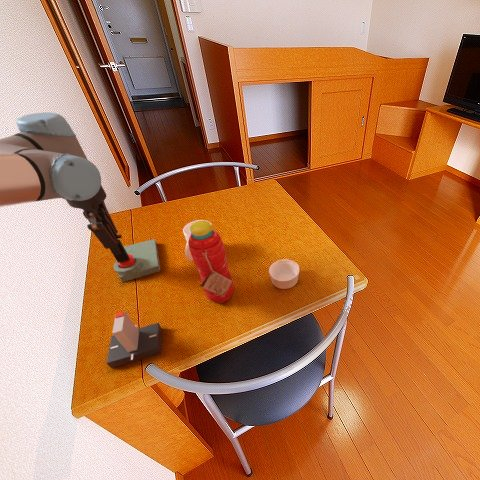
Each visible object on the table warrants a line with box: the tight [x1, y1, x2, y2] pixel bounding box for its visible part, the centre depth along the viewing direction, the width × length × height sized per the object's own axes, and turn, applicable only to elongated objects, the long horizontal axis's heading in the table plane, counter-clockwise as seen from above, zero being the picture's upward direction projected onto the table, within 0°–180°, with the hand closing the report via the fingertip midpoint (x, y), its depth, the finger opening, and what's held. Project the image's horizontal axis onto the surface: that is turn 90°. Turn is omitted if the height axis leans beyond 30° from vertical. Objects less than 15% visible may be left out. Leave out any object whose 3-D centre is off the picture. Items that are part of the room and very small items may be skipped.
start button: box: [117, 254, 136, 268], centre depth 80 cm, size 4×4×2 cm
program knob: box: [111, 311, 139, 352], centre depth 61 cm, size 5×2×8 cm, turn 22°
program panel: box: [106, 322, 163, 369], centre depth 64 cm, size 10×9×3 cm
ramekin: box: [268, 258, 300, 290], centre depth 81 cm, size 9×9×4 cm
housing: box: [113, 238, 161, 283], centre depth 85 cm, size 14×11×4 cm
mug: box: [182, 219, 213, 262], centre depth 86 cm, size 12×8×10 cm
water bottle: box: [188, 220, 235, 304], centre depth 68 cm, size 12×8×25 cm, turn 18°
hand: (123, 259), depth 79 cm, fingers closed
